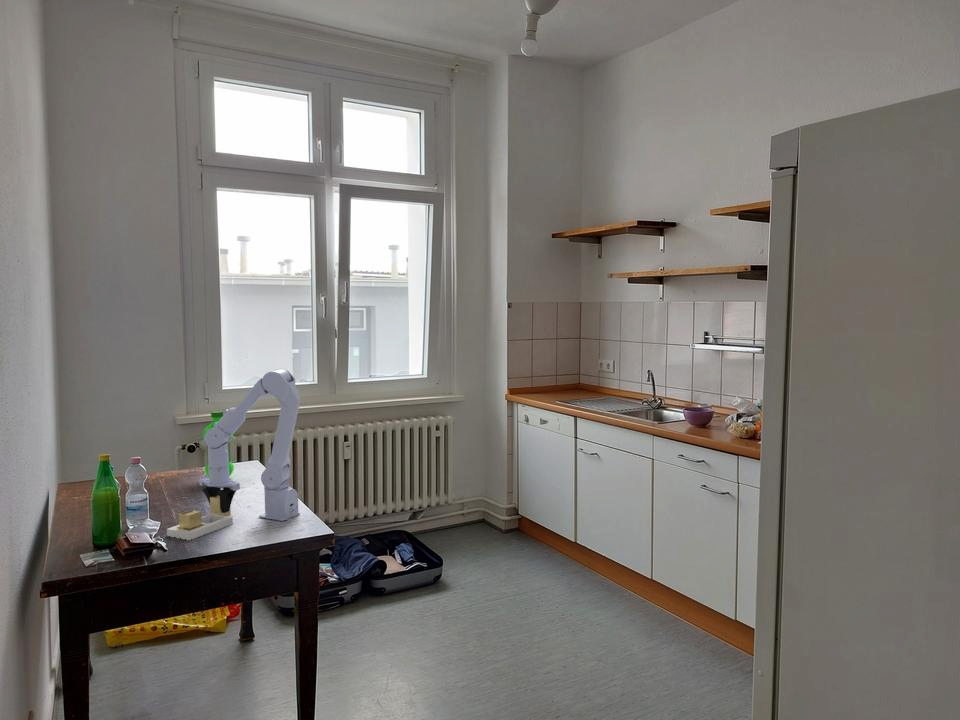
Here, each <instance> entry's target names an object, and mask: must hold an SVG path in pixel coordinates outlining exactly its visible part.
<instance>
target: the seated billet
mask: <svg viewBox="0 0 960 720" xmlns="http://www.w3.org/2000/svg"><path fill="white" fill-rule="evenodd" d="M201 517H202V511H200V510H194V509H188V510H185V511H182V512H180V513H178V523H179V524H178V525H179V529H183V530H188V531H190V530H193V529H196V528H198V527H201Z"/></svg>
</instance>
